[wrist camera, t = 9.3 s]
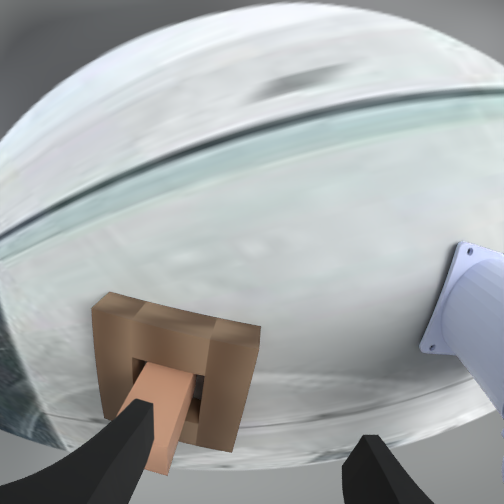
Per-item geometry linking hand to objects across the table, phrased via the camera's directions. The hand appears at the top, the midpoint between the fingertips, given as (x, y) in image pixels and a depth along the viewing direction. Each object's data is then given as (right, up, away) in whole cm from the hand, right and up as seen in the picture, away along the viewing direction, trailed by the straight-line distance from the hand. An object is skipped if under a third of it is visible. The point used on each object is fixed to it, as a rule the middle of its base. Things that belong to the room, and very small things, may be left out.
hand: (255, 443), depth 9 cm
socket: (-5, -2, +11) cm, 13 cm away
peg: (-5, -2, +11) cm, 12 cm away
